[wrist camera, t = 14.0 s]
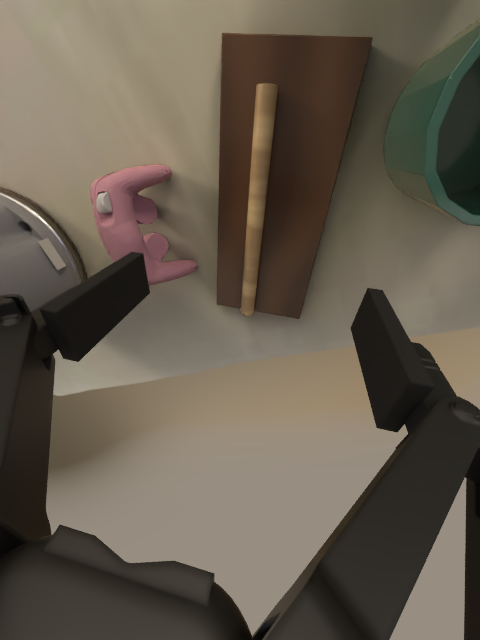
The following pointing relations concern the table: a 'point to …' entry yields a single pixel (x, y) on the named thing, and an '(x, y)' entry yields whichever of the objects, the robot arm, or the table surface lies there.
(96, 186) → the video game controller
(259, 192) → the stirrer
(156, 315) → the table surface
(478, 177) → the coffee cup
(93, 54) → the table surface
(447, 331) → the table surface
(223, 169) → the board
